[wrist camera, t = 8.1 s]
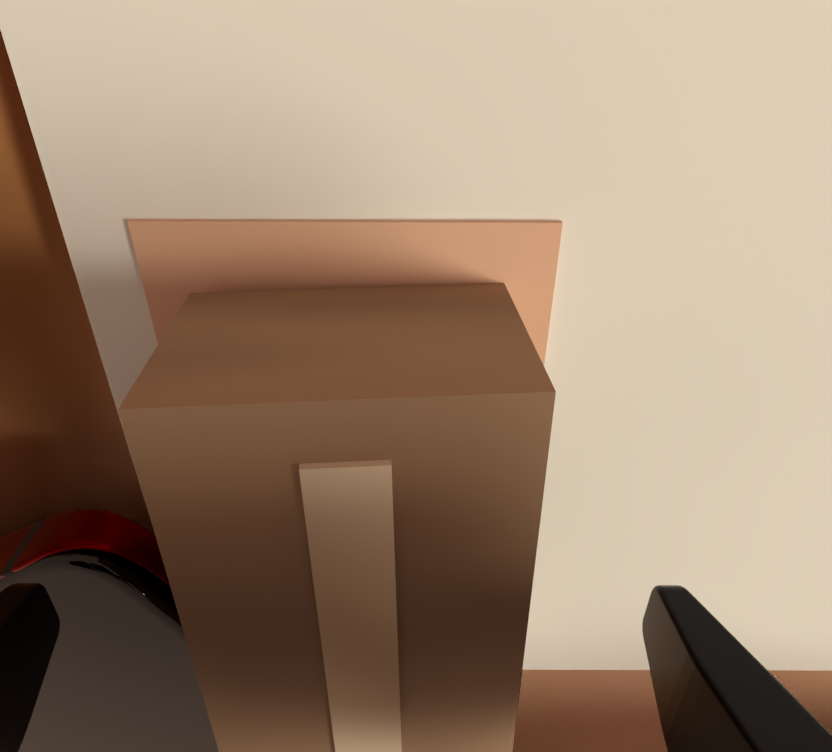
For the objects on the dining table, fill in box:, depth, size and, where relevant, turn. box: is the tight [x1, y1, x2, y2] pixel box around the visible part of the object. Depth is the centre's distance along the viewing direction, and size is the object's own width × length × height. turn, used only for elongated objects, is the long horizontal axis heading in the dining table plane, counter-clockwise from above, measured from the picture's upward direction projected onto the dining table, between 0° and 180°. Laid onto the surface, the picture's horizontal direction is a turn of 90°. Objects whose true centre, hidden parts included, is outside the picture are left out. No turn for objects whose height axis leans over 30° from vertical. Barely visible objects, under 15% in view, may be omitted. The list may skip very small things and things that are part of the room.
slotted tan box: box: [118, 283, 556, 752], centre depth 10 cm, size 8×4×3 cm, turn 0°
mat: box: [0, 0, 832, 671], centre depth 11 cm, size 17×14×1 cm
